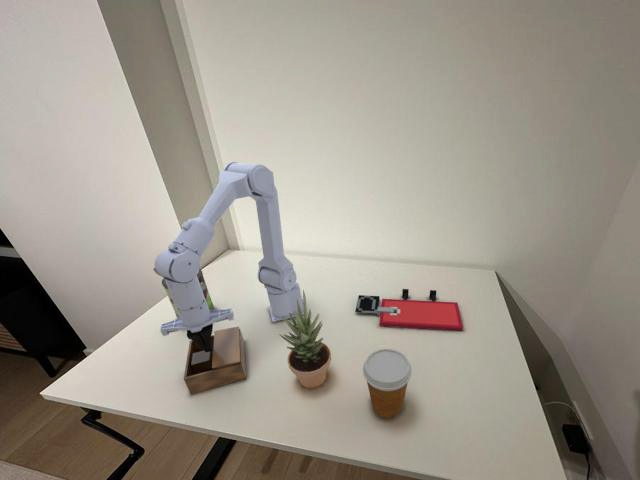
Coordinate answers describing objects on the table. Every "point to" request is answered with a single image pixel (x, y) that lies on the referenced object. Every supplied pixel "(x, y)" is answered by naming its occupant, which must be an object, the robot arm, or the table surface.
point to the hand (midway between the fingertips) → (209, 349)
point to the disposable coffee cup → (387, 380)
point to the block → (202, 362)
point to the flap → (226, 347)
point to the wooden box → (214, 376)
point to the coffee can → (204, 289)
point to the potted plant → (307, 349)
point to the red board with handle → (413, 312)
